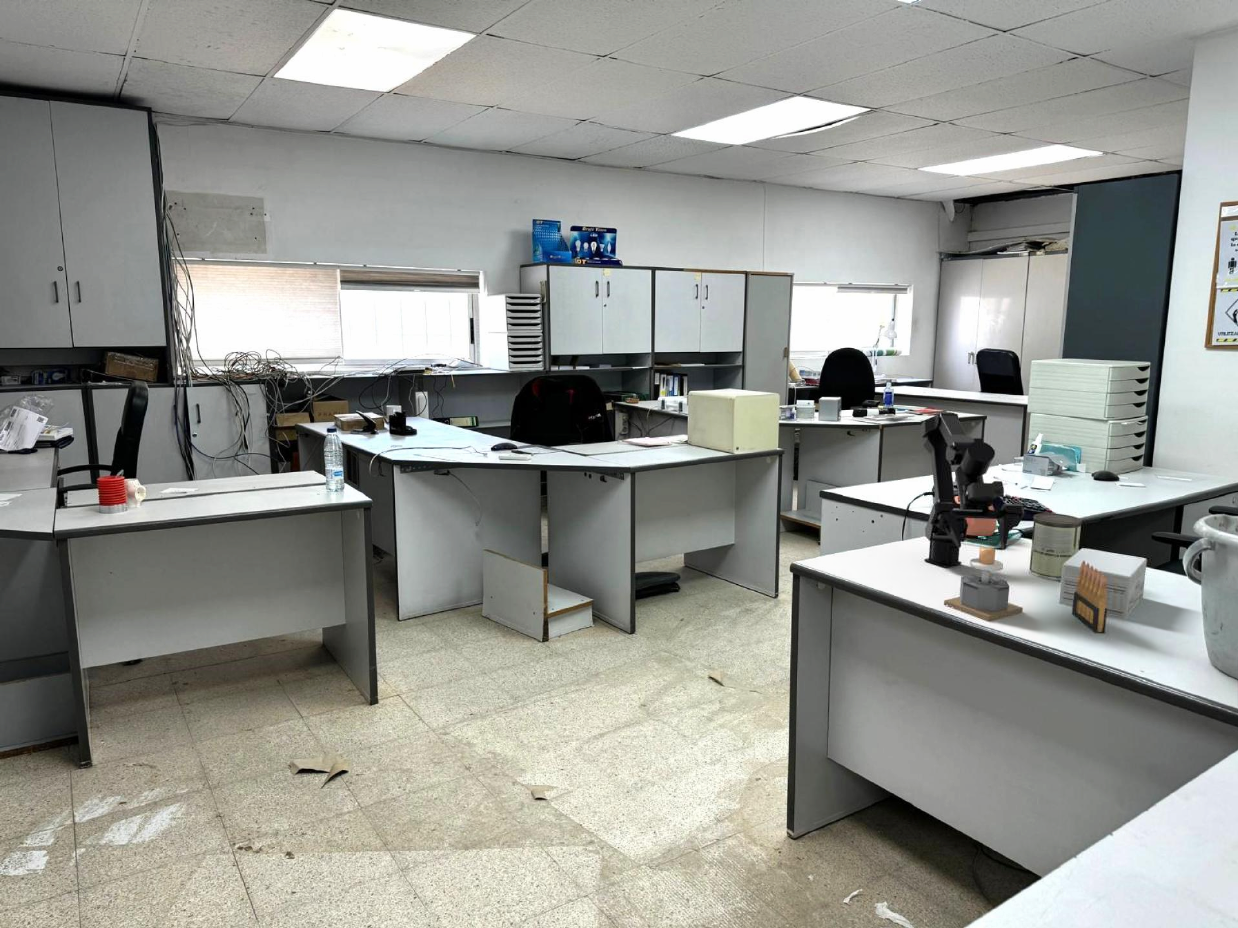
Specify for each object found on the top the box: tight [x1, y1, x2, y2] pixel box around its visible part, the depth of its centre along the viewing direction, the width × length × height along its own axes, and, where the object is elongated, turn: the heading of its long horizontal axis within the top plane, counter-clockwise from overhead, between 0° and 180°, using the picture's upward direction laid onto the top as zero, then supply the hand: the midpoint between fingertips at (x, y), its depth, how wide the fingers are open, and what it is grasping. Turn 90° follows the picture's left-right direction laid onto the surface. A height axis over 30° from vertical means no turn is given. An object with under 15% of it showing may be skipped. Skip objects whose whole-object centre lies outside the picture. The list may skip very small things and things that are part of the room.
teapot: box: [955, 495, 998, 537], centre depth 235 cm, size 13×20×12 cm, turn 165°
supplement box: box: [1058, 547, 1148, 619], centre depth 180 cm, size 17×13×9 cm
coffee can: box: [1028, 512, 1083, 581], centre depth 198 cm, size 10×10×14 cm
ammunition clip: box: [1071, 561, 1108, 634], centre depth 166 cm, size 11×2×12 cm, turn 174°
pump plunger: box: [969, 546, 1004, 584], centre depth 174 cm, size 6×6×9 cm
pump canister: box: [943, 574, 1024, 622], centre depth 175 cm, size 11×11×6 cm
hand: (981, 547), depth 177 cm, fingers open, 9 cm apart
